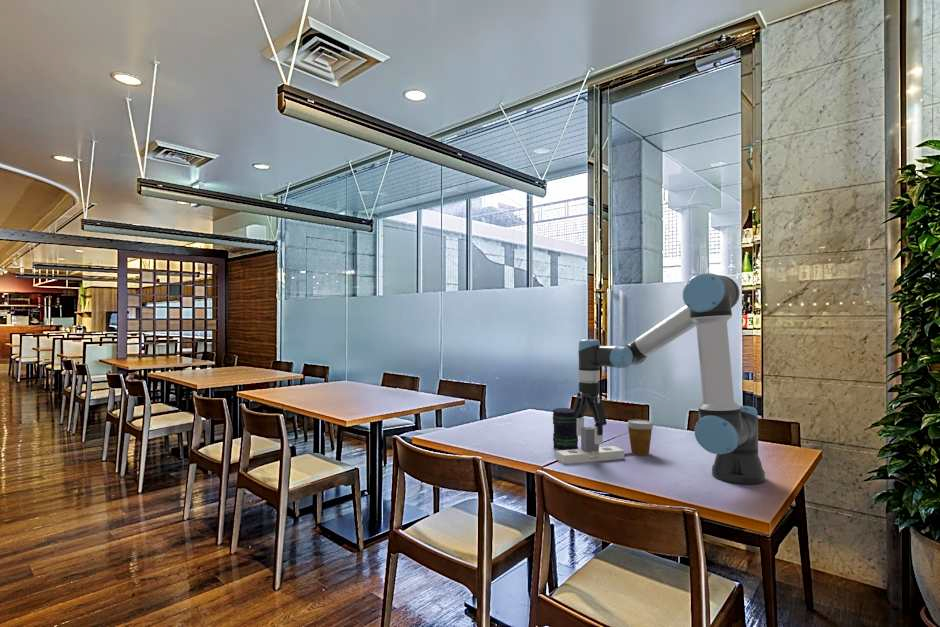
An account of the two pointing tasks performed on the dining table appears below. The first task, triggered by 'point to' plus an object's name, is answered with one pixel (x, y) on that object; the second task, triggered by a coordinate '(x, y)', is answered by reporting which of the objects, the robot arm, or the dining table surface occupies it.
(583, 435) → the charger
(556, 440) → the storage jar
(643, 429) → the disposable coffee cup
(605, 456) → the power strip
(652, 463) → the dining table surface
